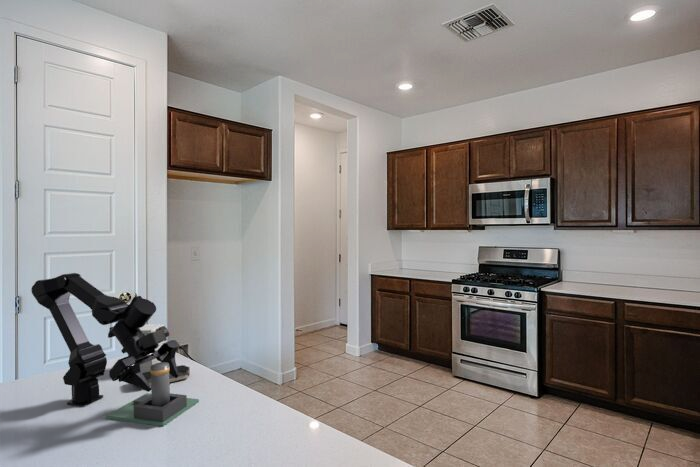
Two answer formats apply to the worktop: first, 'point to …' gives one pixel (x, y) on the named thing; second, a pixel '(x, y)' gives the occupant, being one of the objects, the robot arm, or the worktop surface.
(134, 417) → the header board
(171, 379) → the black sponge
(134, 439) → the worktop surface
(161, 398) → the plug
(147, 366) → the supplement box
